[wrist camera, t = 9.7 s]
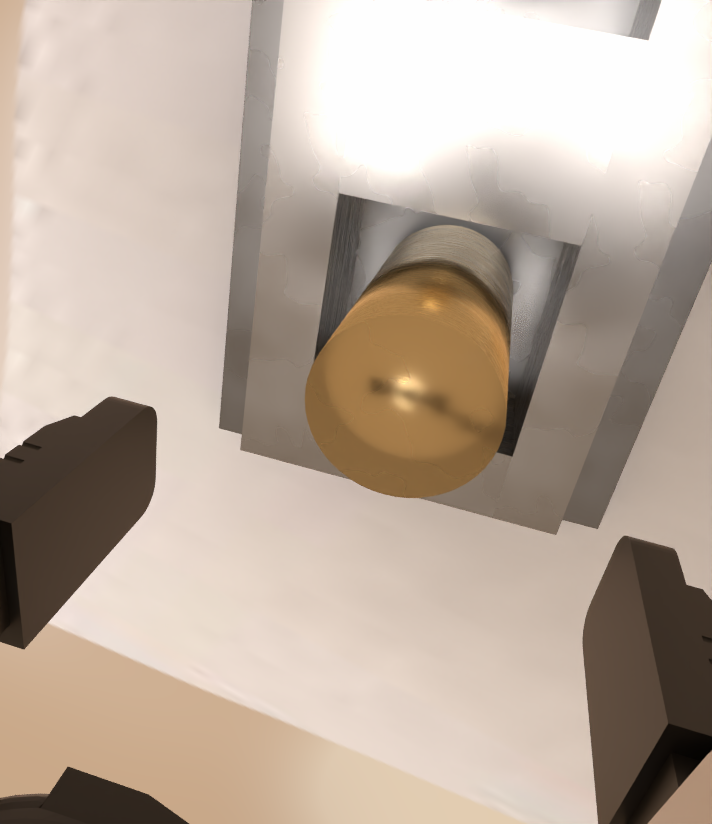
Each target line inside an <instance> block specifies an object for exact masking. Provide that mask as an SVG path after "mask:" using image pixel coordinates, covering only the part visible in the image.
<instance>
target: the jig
mask: <svg viewBox="0 0 712 824" xmlns="http://www.w3.org/2000/svg"><path fill="white" fill-rule="evenodd" d="M436 225H457V226H462V227H466V228H469V229H472V230H474V231H476V232H478V233H480V234H482V235H483V236H485V237H486V238H487V239H489V240H490V241H491V242H492V243H493V244H494V245H495V246H496V247H497V248H498V249H499V250H500V252H501V253H502V255H503V256H504V258H505V260H506V262H507V263H508V266H509V269H510V271H511V275H512V280H513V304H512V322H511V341H510V359H509V377H508V395H507V414H506V426H505V430H504V435H503V438H502V441H501V443H500V446H499V448H498V450H497V452H496V454H495V455H494V457H493V459H492V460H491V461H490V463H489V464H488V465H487V466H486V468H485V469H484V470H483V471H482V472H481V473H480V474H478V475H477V476H476V477H475V478H474V479H472V480H471V481H469V482H468V483H466V484H465V485H463V486H461V487H459V488H457V489H455V490H452V491H450V492H447V493H444V494H440V495H436V496H431V497H423V498H421V499H425V500H428V501H432V502H436V503H440V504H443V505H447V506H451V507H454V508H458V509H462V510H466V511H469V512H473V513H477V514H480V515H484V516H488V517H492V518H495V519H499V520H503V521H506V522H510V523H514V524H518V525H521V526H525V527H529V528H532V529H536V530H540V531H543V532H547V533H551V534H555V535H556V534H557V531H558V529H559V526H560V524H561V521H562V520H566V521H569V522H573V523H577V524H581V525H584V526H588V527H592V528H596V529H598V527H599V525H600V523H601V520H602V518H603V515H604V513H605V511H606V508H607V506H608V504H609V501H610V499H611V497H612V494H613V492H614V490H615V487H616V485H617V483H618V480H619V478H620V476H621V473H622V471H623V468H624V466H625V464H626V461H627V459H628V457H629V454H630V452H631V450H632V447H633V445H634V443H635V440H636V438H637V436H638V433H639V431H640V429H641V426H642V424H643V421H644V419H645V417H646V414H647V412H648V410H649V407H650V405H651V403H652V400H653V398H654V396H655V393H656V391H657V389H658V386H659V384H660V382H661V379H662V377H663V374H664V372H665V370H666V367H667V365H668V363H669V360H670V358H671V356H672V353H673V351H674V349H675V346H676V344H677V342H678V339H679V337H680V335H681V332H682V330H683V327H684V325H685V323H686V320H687V318H688V316H689V313H690V311H691V309H692V306H693V304H694V302H695V299H696V297H697V295H698V292H699V290H700V288H701V285H702V283H703V280H704V278H705V276H706V273H707V271H708V269H709V266H710V264H711V262H712V0H252V10H251V23H250V36H249V49H248V62H247V75H246V88H245V100H244V113H243V126H242V139H241V152H240V165H239V178H238V191H237V204H236V217H235V230H234V243H233V256H232V269H231V282H230V295H229V308H228V320H227V333H226V346H225V359H224V372H223V385H222V398H221V411H220V424H219V428H220V429H224V430H228V431H232V432H235V433H239V434H242V439H241V450H243V451H247V452H250V453H254V454H258V455H261V456H265V457H269V458H273V459H276V460H280V461H284V462H287V463H291V464H295V465H299V466H302V467H306V468H310V469H313V470H317V471H321V472H325V473H328V474H332V475H336V476H339V477H343V478H347V479H350V478H348V477H347V476H346V475H344V474H343V473H342V472H340V471H339V470H338V469H337V468H336V467H335V466H334V465H333V464H332V463H331V462H330V461H329V460H328V459H327V457H326V456H325V455H324V454H323V452H322V451H321V449H320V448H319V446H318V445H317V443H316V441H315V439H314V437H313V435H312V433H311V430H310V427H309V424H308V421H307V416H306V411H305V388H306V383H307V378H308V375H309V372H310V370H311V367H312V365H313V363H314V361H315V359H316V358H317V356H318V354H319V353H320V352H321V350H322V349H323V347H324V346H325V345H326V343H327V342H328V340H329V339H330V338H331V336H332V335H333V333H334V332H335V331H336V329H337V328H338V326H339V325H340V324H341V322H342V321H343V320H344V318H345V317H346V315H347V314H348V313H349V311H350V310H351V308H352V307H353V306H354V304H355V303H356V301H357V300H358V299H359V297H360V296H361V294H362V293H363V292H364V290H365V289H366V288H367V286H368V285H369V283H370V282H371V281H372V279H373V278H374V276H375V275H376V274H377V272H378V271H379V269H380V268H381V267H382V265H383V264H384V262H385V261H386V260H387V258H388V257H389V255H390V254H391V253H392V251H393V250H394V249H395V248H396V246H397V245H398V244H399V243H400V242H401V241H403V240H404V239H405V238H407V237H408V236H409V235H411V234H413V233H415V232H416V231H419V230H421V229H424V228H427V227H431V226H436Z"/></svg>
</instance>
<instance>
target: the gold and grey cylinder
mask: <svg viewBox="0 0 712 824" xmlns="http://www.w3.org/2000/svg"><path fill="white" fill-rule="evenodd" d="M512 304H513V280H512V275H511V271H510V269H509V266H508V263H507V262H506V260H505V258H504V256H503V255H502V253H501V252H500V250H499V249H498V248H497V247H496V246H495V245H494V244H493V243H492V242H491V241H490V240H489V239H487V238H486V237H485V236H483V235H482V234H480V233H478V232H476V231H474V230H472V229H469V228H466V227H462V226H457V225H436V226H431V227H427V228H424V229H421V230H419V231H416V232H415V233H413V234H411V235H409V236H408V237H407V238H405V239H404V240H403V241H401V242H400V243H399V244H398V245H397V246H396V248H395V249H394V250H393V251H392V253H391V254H390V255H389V257H388V258H387V260H386V261H385V262H384V264H383V265H382V267H381V268H380V269H379V271H378V272H377V274H376V275H375V276H374V278H373V279H372V281H371V282H370V283H369V285H368V286H367V288H366V289H365V290H364V292H363V293H362V294H361V296H360V297H359V299H358V300H357V301H356V303H355V304H354V306H353V307H352V308H351V310H350V311H349V313H348V314H347V315H346V317H345V318H344V320H343V321H342V322H341V324H340V325H339V326H338V328H337V329H336V331H335V332H334V333H333V335H332V336H331V338H330V339H329V340H328V342H327V343H326V345H325V346H324V347H323V349H322V350H321V352H320V353H319V354H318V356H317V358H316V359H315V361H314V363H313V365H312V367H311V370H310V372H309V375H308V378H307V383H306V388H305V411H306V416H307V421H308V424H309V427H310V430H311V433H312V435H313V437H314V439H315V441H316V443H317V445H318V446H319V448H320V449H321V451H322V452H323V454H324V455H325V456H326V457H327V459H328V460H329V461H330V462H331V463H332V464H333V465H334V466H335V467H336V468H337V469H338V470H339V471H340V472H342V473H343V474H344V475H346V476H347V477H348V478H350V479H351V480H353V481H355V482H356V483H358V484H360V485H361V486H364V487H366V488H368V489H370V490H373V491H376V492H379V493H382V494H386V495H390V496H395V497H404V498H423V497H431V496H436V495H440V494H444V493H447V492H450V491H452V490H455V489H457V488H459V487H461V486H463V485H465V484H466V483H468V482H469V481H471V480H472V479H474V478H475V477H476V476H477V475H478V474H480V473H481V472H482V471H483V470H484V469H485V468H486V466H487V465H488V464H489V463H490V461H491V460H492V459H493V457H494V455H495V454H496V452H497V450H498V448H499V446H500V443H501V441H502V438H503V435H504V430H505V426H506V414H507V395H508V377H509V359H510V341H511V322H512Z"/></svg>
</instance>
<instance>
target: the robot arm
mask: <svg viewBox="0 0 712 824" xmlns="http://www.w3.org/2000/svg"><path fill="white" fill-rule="evenodd" d="M156 442H157V415H156V411H155V410H154V408H153V407H150V406H146V405H142V404H139V403H135V402H131V401H127V400H124V399H120V398H116V397H108V398H106V399H105V400H103V401H102V402H101V403H99V404H98V405H97V406H95V407H94V408H93V409H91V410H90V411H89V412H88V413H86V414H85V415H84V416H82V417H78V416H72V417H69V418H66V419H63V420H60V421H58V422H55V423H52V424H49V425H46V426H44V427H43V428H41V429H40V430H39V431H37V432H36V433H34V434H33V435H32V436H30V437H29V438H28V439H26V440H25V441H23V444H22V446H21V445H18V446H16V447H15V448H14V449H12V450H11V451H10V452H8V453H7V454H5V457H4V459H2V458H0V642H2V643H5V644H9V645H12V646H15V647H18V648H21V649H25V648H26V647H27V646H28V644H29V643H30V642H31V641H32V640H33V639H34V638H35V637H36V635H37V634H38V633H39V632H40V631H41V630H42V629H43V627H44V626H45V625H46V624H47V623H48V622H49V621H50V620H51V618H52V617H53V616H54V615H55V614H56V613H57V612H58V611H59V609H60V608H61V607H62V606H63V605H64V604H65V603H66V601H67V600H68V599H69V598H70V597H71V596H72V595H73V594H74V592H75V591H76V590H77V589H78V588H79V587H80V586H81V584H82V583H83V582H84V581H85V580H86V579H87V578H88V577H89V575H90V574H91V573H92V572H93V571H94V570H95V569H96V567H97V566H98V565H99V564H100V563H101V562H102V561H103V560H104V558H105V557H106V556H107V555H108V554H109V553H110V552H111V550H112V549H113V548H114V547H115V546H116V545H117V544H118V543H119V541H120V540H121V539H122V538H123V537H124V536H125V535H126V533H127V532H128V531H129V530H130V529H131V528H132V527H133V526H134V524H135V523H136V522H137V521H138V520H139V519H140V518H141V516H142V515H143V514H144V512H145V511H146V509H147V507H148V505H149V503H150V501H151V498H152V495H153V492H154V488H155V479H156ZM583 655H584V666H585V677H586V689H587V700H588V712H589V723H590V734H591V746H592V757H593V768H594V780H595V791H596V803H597V814H598V824H712V600H711V599H710V598H709V597H708V595H707V594H706V593H705V592H704V590H703V589H699V588H695V587H692V586H688V585H686V582H685V579H684V575H683V572H682V569H681V565H680V562H679V559H678V555H677V553H676V551H675V550H674V549H673V548H670V547H666V546H662V545H658V544H655V543H651V542H647V541H644V540H640V539H636V538H632V537H629V536H623V537H622V538H621V539H620V540H619V542H618V544H617V546H616V548H615V550H614V552H613V554H612V557H611V559H610V561H609V563H608V566H607V568H606V570H605V572H604V575H603V577H602V579H601V581H600V583H599V586H598V588H597V590H596V592H595V595H594V597H593V599H592V601H591V604H590V606H589V609H588V612H587V615H586V619H585V624H584V630H583ZM0 824H189V823H187V822H186V821H184V820H183V819H182V818H180V817H179V816H178V815H176V814H175V813H173V812H172V811H171V810H169V809H168V808H166V807H165V806H164V805H162V804H161V803H160V802H158V801H157V800H155V799H154V798H152V797H151V796H149V795H148V794H145V793H142V792H140V791H136V790H134V789H131V788H128V787H125V786H122V785H120V784H117V783H114V782H111V781H108V780H105V779H102V778H99V777H96V776H94V775H90V774H88V773H85V772H82V771H79V770H76V769H73V768H70V767H67V769H66V770H65V772H64V773H63V775H62V776H61V777H60V779H59V781H58V782H57V784H56V785H55V787H54V788H53V789H52V791H51V792H50V794H27V795H15V796H9V797H4V798H0Z"/></svg>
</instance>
